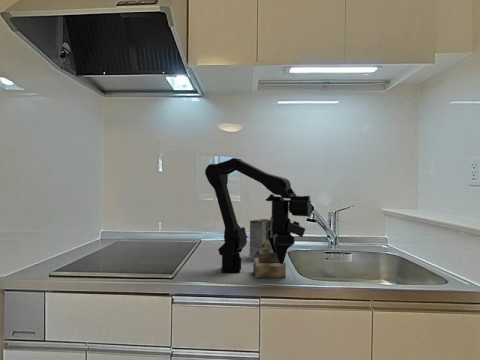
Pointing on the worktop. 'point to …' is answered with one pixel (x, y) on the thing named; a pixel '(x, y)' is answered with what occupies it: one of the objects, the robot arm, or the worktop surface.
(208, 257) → the worktop surface
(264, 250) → the lid
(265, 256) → the brown rectangular block
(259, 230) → the coffee box
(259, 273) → the open wooden box
